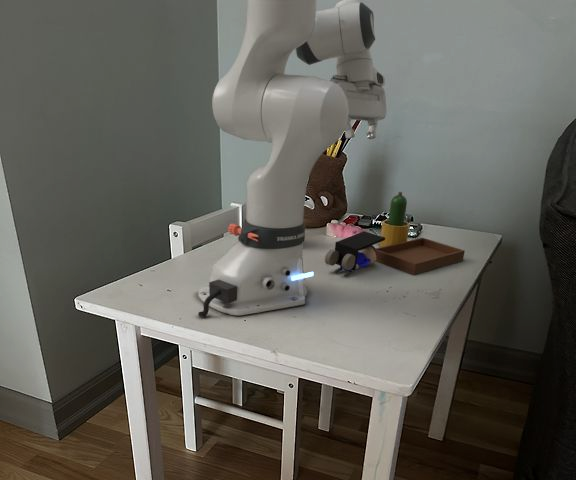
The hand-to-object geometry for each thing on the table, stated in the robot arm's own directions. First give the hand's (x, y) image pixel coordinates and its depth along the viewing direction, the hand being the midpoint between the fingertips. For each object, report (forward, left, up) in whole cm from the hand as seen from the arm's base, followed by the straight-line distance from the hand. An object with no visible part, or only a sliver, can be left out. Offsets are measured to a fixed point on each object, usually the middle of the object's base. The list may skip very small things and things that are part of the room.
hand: (361, 138), depth 138 cm
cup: (+3, -12, -25) cm, 28 cm away
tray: (-1, -24, -25) cm, 34 cm away
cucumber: (+3, -12, -24) cm, 27 cm away
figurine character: (-20, -20, -25) cm, 38 cm away
